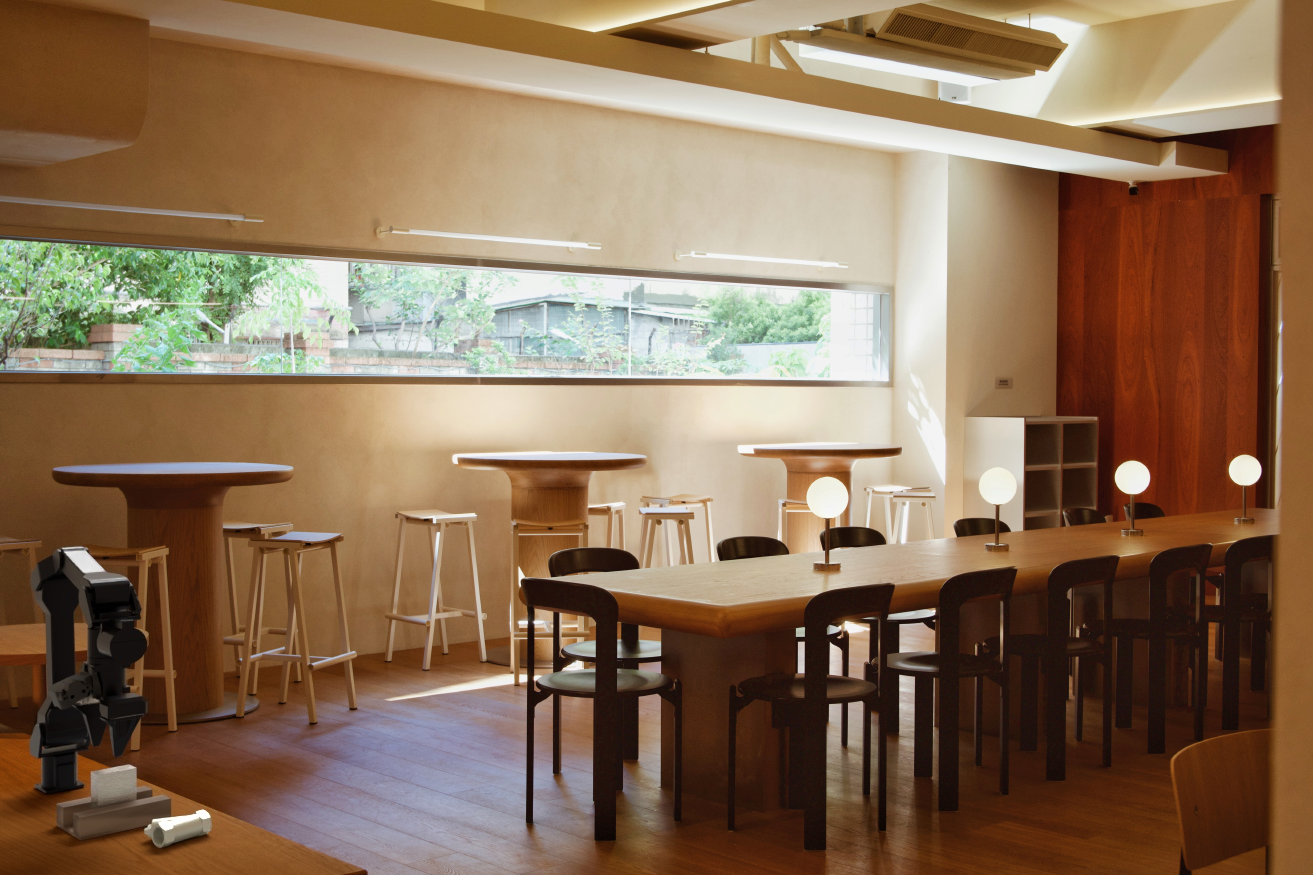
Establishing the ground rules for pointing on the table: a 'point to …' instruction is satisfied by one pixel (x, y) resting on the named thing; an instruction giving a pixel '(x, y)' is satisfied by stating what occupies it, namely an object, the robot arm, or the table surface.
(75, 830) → the grey u-channel
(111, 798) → the brushed metal bar
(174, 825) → the pipe fitting
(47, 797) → the table surface
